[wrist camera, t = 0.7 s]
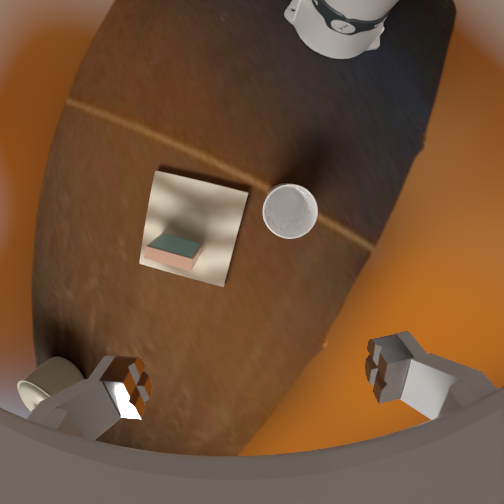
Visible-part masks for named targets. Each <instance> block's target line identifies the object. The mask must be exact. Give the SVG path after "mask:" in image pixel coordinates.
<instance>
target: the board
mask: <svg viewBox="0 0 504 504" xmlns="http://www.w3.org/2000/svg"><path fill="white" fill-rule="evenodd" d="M248 193H249V192H245V191H241V190H237V189H234V188H230V187H226V186H222V185H218V184H214V183H210V182H206V181H202V180H197V179H193V178H189V177H185V176H180V175H176V174H171V173H167V172H162V171H155V175H154V180H153V184H152V189H151V194H150V200H149V205H148V211H147V216H146V222H145V228H144V235H143V241H142V248H141V256H140V264H143V265H146V266H150V267H153V268H157V269H160V270H164V271H167V272H171V273H174V274H178V275H181V276H185V277H188V278H192V279H196V280H199V281H203V282H207V283H210V284H214V285H218V286H222V287H224V283H225V279H226V275H227V272H228V268H229V264H230V260H231V256H232V252H233V249H234V245H235V241H236V237H237V233H238V230H239V226H240V222H241V218H242V215H243V211H244V207H245V204H246V200H247V196H248ZM163 233H164V234H168V235H171V236H175V237H179V238H183V239H186V240H190V241H194V242H198V243H201V244H202V245H203V246H202V251H201V255H200V257H199V258H198V260H197V262H196V263H195V265H194V267H193V268H192V270H191V271H189V270H185V269H182V268H178V267H175V266H171V265H167V264H164V263H160V262H157V261H153V260H150V259H147V258H144V255H145V248H146V246H147V245H148V244H149V243H150V242H152V241H153V240H154V239H155V238H157V237H158V236H159V235H160V234H163Z"/></svg>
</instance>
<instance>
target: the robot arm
mask: <svg viewBox="0 0 504 504" xmlns="http://www.w3.org/2000/svg"><path fill="white" fill-rule="evenodd" d="M398 1H399V0H292V2H291V3H290V5H289V6H288V8H287V9H286V11H285V13H284V16H285V18H286V19H287V20H288V21H289V22H290V23H291V24H293V25H294V27H295V28H296V31H297V33H298V35H299V36H300V38H301V39H302V40H303V42H304V43H305V44H306V45H307V46H309V47H310V48H311V49H313V50H314V51H316V52H318V53H320V54H322V55H324V56H327V57H331V58H336V59H348V58H352V57H355V56H357V55H359V54H361V53H362V52H364V51H366V50H375V49H377V48H378V47H379V46H380V35H381V34H382V32H383V31H384V29H385V28H384V27H383V22H384V20H385V19H386V18H387V16H388V14H389V12H390V9H391V8H392V7H393V6H394V5H395V4H396V3H397V2H398ZM292 10H295V11H292ZM367 349H368V352H369V353H370V355H369V356H368V357H367V358H366V364H365V369H366V376H367V379H368V381H369V383H370V384H372V385H374V389H373V392H374V394H375V396H376V399H377V401H378V403H383V402H388V401H392V400H396V399H400V398H401V400H402V401H404V402H405V403H407V404H408V405H410V406H411V407H413V408H414V409H416V410H417V411H419V412H420V413H422V414H423V415H425V416H427V417H428V418H430V419H431V421H428V422H425V423H422V424H419V425H416V426H413V427H411V428H407V429H404V430H401V431H398V432H394V433H391V434H388V435H384V436H380V437H377V438H373V439H369V440H365V441H360V442H356V443H351V444H347V445H341V446H336V447H331V448H326V449H318V450H312V451H304V452H296V453H287V454H276V455H261V456H196V455H181V454H170V453H161V452H153V451H146V450H139V449H133V448H127V447H122V446H116V445H111V444H107V443H102V442H98V441H94V440H95V439H96V438H98V437H99V436H100V435H101V434H103V433H104V432H105V431H106V430H107V429H109V428H110V427H111V426H112V425H113V424H115V423H116V422H117V421H118V420H119V419H121V417H125V418H135V419H141V417H142V415H143V413H144V410H145V408H146V406H145V404H144V402H145V401H147V400H148V399H149V398H150V396H151V393H152V383H151V379H150V377H149V375H148V374H147V373H146V372H144V369H145V364H144V361H143V359H141V358H140V357H125V356H110V355H107V356H104V357H103V359H102V360H101V361H100V363H99V364H98V366H97V367H96V368H95V370H94V371H93V372H92V374H91V375H90V377H89V378H88V379H83V380H82V381H80V382H78V383H76V384H74V385H72V386H70V387H68V388H66V389H64V390H62V391H60V392H58V393H56V394H54V395H52V396H50V397H48V398H46V399H44V400H42V401H40V403H39V404H38V405H37V407H36V408H35V409H34V410H33V412H32V413H31V415H30V416H29V417H28V419H25V418H23V417H20V416H18V415H16V414H13V413H11V412H8V411H6V410H4V409H2V408H0V504H504V386H503V387H501V388H500V389H498V390H497V388H496V387H495V386H494V385H493V384H492V383H491V381H490V380H489V379H488V378H487V377H486V376H485V375H484V373H483V372H482V371H478V370H476V369H473V368H470V367H467V366H465V365H462V364H459V363H456V362H453V361H451V360H448V359H445V358H442V357H439V356H437V355H434V354H432V353H430V354H427V353H426V352H425V351H424V349H423V348H422V347H421V346H420V344H419V343H418V342H417V341H416V340H415V339H414V337H413V336H412V335H411V334H410V332H408V331H404V332H400V333H396V334H394V335H389V336H384V337H380V338H375V339H370V340H369V342H368V347H367Z"/></svg>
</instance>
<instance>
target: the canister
mask: <svg viewBox="0 0 504 504" xmlns="http://www.w3.org/2000/svg"><path fill="white" fill-rule="evenodd" d="M83 379H84V378H83V375H82V373H81V372H80V371H79V369H78V368H77V367H76V366H75V365H74V364H73V363H71V362H70V361H69V360H67V359H65V358H63V357H58V356H57V357H52V358H50V359H48V360H47V361H46V362H44V363H43V364H42V365H41V366H39V367H38V368H37V369H36V370H35V371H34V372H32V373H31V374H30V375H29V376H28V377H27V378H26V379H24V380H20V381H19V382H18V384H17V387H18V391H19V394H20V396H21V399H22V400H23V402H24V404H25V405H26V407H27V408H28V409H29V410H30V411H31V413H32V412H33V410H34V409H35V408H36V407H37V405H38V404H39V403H40V401H42V400H44V399H46V398H48V397H50V396H52V395H54V394H56V393H58V392H60V391H62V390H64V389H66V388H68V387H70V386H72V385H74V384H76V383H78V382H80V381H82V380H83Z"/></svg>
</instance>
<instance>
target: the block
mask: <svg viewBox="0 0 504 504" xmlns="http://www.w3.org/2000/svg"><path fill="white" fill-rule="evenodd" d="M202 246H203V245H202V244H201V243H198V242H194V241H190V240H186V239H183V238H179V237H175V236H171V235H168V234H164V233H163V234H160V235H159V236H158V237H157V238H155V239H154V240H153V241H152V242H150V243H149V244H148V245H147V246H146V248H145V255H144V258H147V259H150V260H153V261H157V262H160V263H164V264H167V265H171V266H175V267H178V268H182V269H185V270H189V271H191V270H192V268H193V267H194V265H195V263H196V262H197V260H198V258H199V257H200V255H201V251H202Z"/></svg>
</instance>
